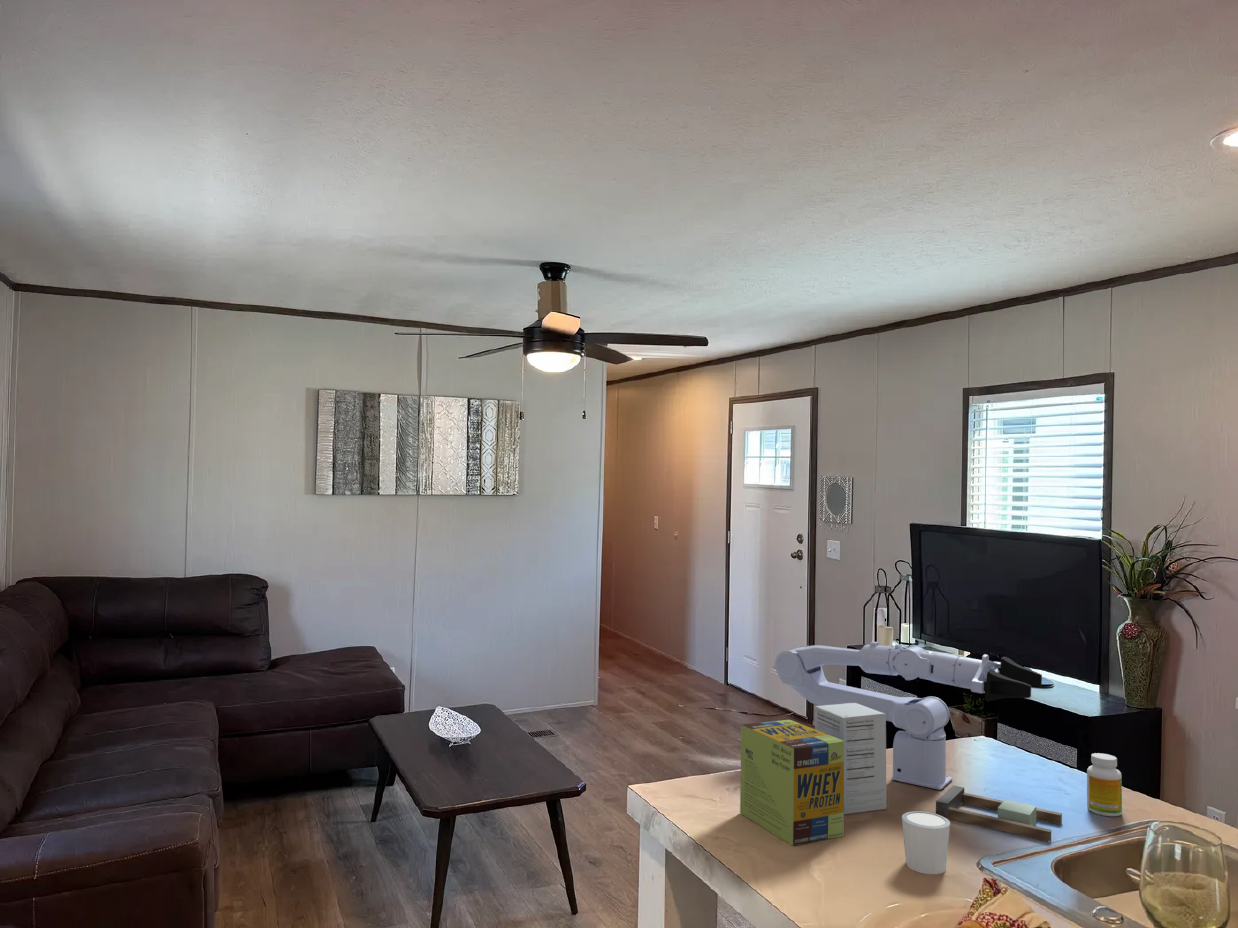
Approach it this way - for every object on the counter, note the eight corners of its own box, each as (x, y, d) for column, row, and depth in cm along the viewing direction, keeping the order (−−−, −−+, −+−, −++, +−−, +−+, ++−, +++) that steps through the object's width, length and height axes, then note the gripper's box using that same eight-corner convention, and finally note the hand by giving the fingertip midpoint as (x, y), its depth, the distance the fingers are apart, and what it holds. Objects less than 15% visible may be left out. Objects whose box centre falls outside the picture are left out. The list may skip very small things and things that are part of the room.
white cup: (894, 856, 131) (894, 810, 131) (937, 855, 131) (937, 809, 132) (913, 876, 124) (913, 827, 124) (958, 875, 124) (958, 827, 125)
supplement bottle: (1127, 818, 148) (1126, 761, 148) (1093, 815, 149) (1092, 759, 149) (1115, 807, 153) (1115, 752, 154) (1082, 804, 154) (1082, 750, 155)
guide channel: (935, 815, 148) (935, 800, 148) (953, 798, 156) (953, 785, 156) (1049, 841, 137) (1049, 826, 137) (1061, 822, 145) (1061, 807, 146)
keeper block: (997, 825, 144) (997, 807, 145) (1005, 817, 148) (1005, 799, 149) (1029, 833, 141) (1029, 814, 142) (1036, 824, 145) (1036, 806, 145)
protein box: (793, 847, 134) (793, 747, 134) (738, 813, 148) (739, 723, 148) (845, 836, 138) (846, 740, 139) (788, 805, 152) (788, 717, 153)
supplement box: (888, 809, 150) (888, 713, 151) (844, 815, 147) (844, 717, 148) (855, 791, 159) (855, 701, 160) (813, 797, 156) (813, 704, 157)
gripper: (946, 659, 157) (1026, 674, 148) (971, 642, 168) (1046, 654, 159) (946, 697, 157) (1025, 713, 149) (970, 677, 169) (1045, 691, 160)
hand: (1036, 685), depth 154 cm, fingers open, 7 cm apart
